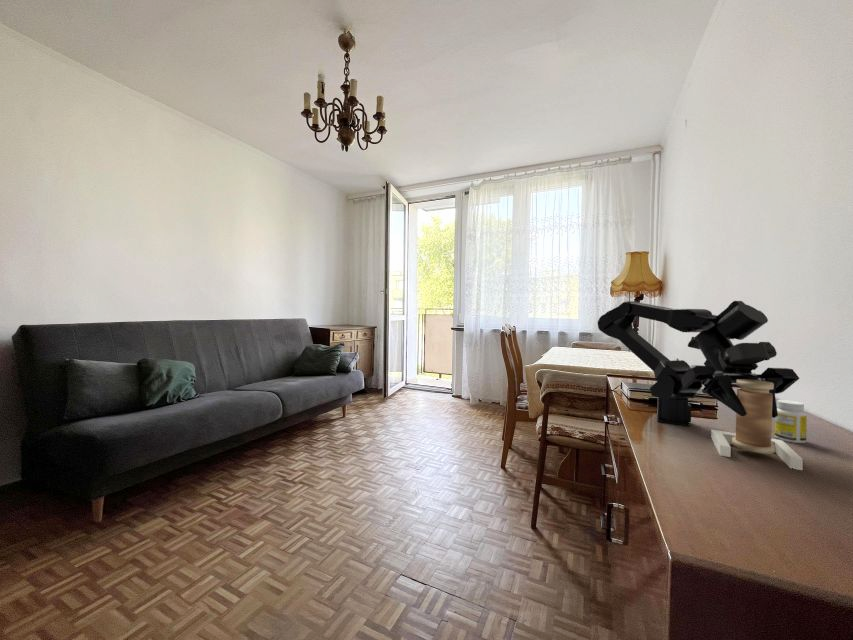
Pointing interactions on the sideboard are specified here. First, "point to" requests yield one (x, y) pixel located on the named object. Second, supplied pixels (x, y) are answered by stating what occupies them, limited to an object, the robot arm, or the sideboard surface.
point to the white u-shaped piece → (781, 448)
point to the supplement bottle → (790, 421)
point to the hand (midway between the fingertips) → (759, 415)
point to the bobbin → (754, 416)
